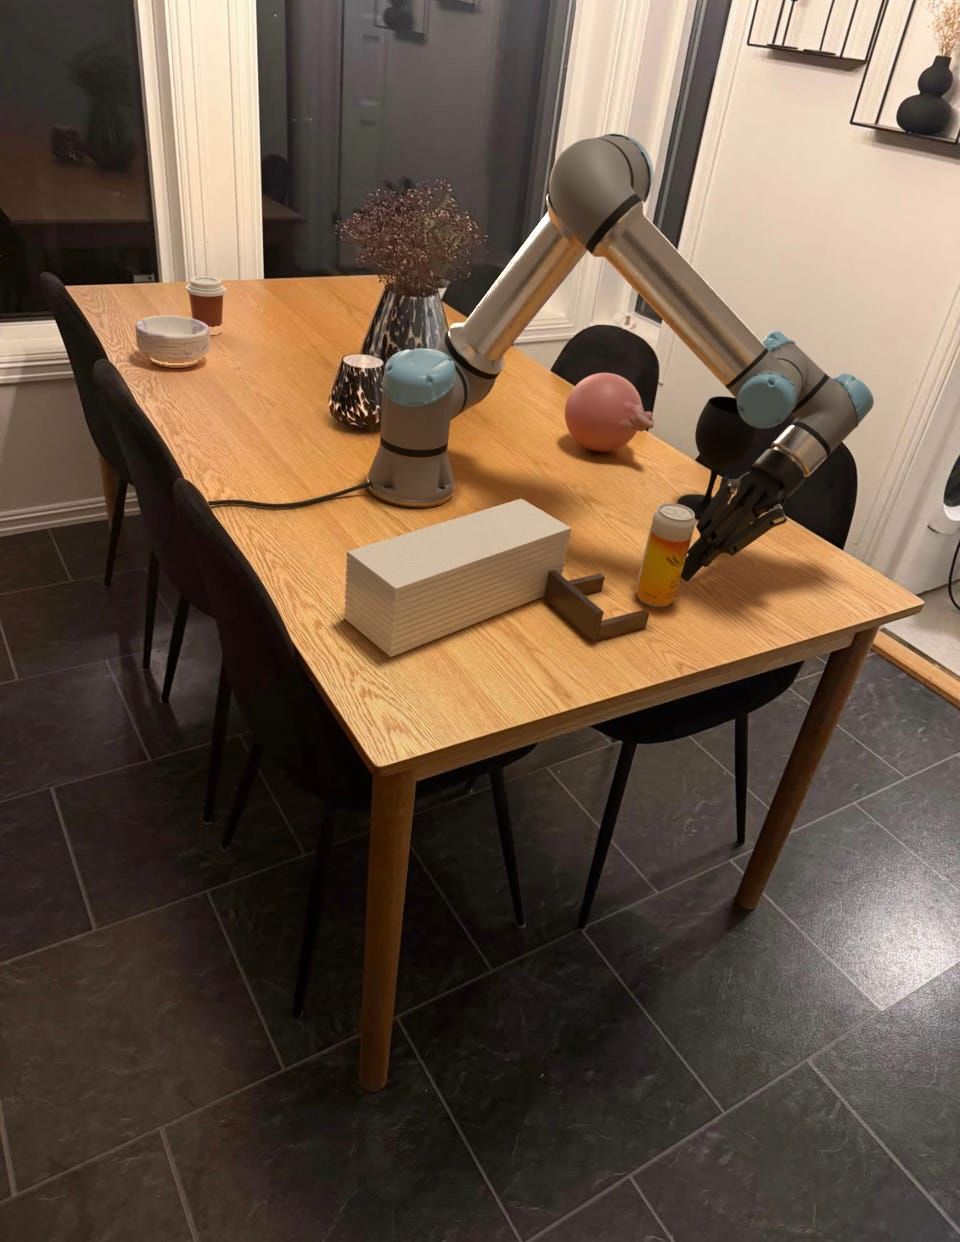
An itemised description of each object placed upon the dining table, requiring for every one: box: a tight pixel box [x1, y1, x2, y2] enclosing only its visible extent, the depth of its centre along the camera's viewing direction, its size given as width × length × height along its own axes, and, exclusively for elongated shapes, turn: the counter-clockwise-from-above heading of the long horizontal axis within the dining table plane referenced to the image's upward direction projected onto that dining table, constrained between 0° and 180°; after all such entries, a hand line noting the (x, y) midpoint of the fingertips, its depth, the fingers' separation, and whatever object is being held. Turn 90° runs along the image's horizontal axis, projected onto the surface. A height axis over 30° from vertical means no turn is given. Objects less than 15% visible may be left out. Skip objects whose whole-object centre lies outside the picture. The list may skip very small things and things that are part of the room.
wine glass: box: [676, 395, 759, 521], centre depth 165 cm, size 10×10×20 cm
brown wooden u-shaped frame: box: [543, 570, 650, 643], centre depth 135 cm, size 10×12×5 cm
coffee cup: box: [185, 275, 227, 327], centre depth 217 cm, size 9×9×12 cm
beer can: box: [635, 502, 697, 608], centre depth 137 cm, size 6×6×15 cm
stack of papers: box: [343, 498, 572, 658], centre depth 131 cm, size 32×11×11 cm, turn 131°
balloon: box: [564, 372, 655, 453], centre depth 183 cm, size 15×20×15 cm
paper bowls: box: [135, 315, 211, 369], centre depth 200 cm, size 15×15×8 cm
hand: (680, 576), depth 142 cm, fingers closed
